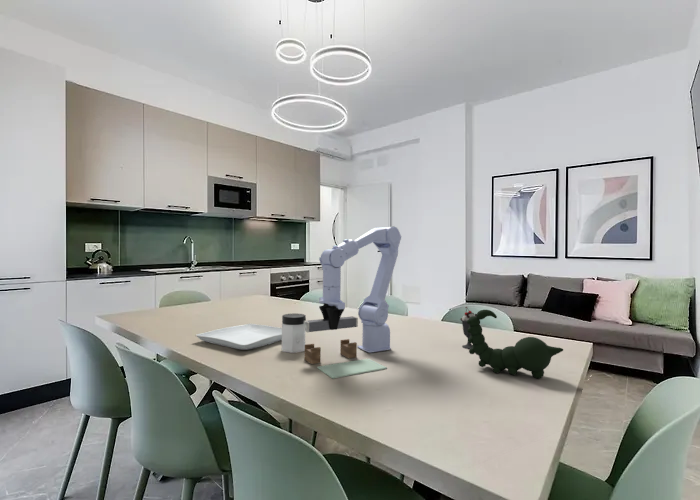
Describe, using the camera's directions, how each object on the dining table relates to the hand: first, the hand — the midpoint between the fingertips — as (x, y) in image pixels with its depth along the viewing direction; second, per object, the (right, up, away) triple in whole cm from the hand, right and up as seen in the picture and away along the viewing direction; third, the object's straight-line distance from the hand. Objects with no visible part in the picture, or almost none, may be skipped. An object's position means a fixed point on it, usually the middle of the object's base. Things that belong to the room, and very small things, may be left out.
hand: (331, 328), depth 118 cm
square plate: (-33, -10, +21) cm, 41 cm away
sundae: (+50, -10, +16) cm, 53 cm away
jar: (-14, -10, +10) cm, 19 cm away
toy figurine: (+53, -11, -12) cm, 55 cm away
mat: (+7, -10, -10) cm, 15 cm away
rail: (0, 0, 0) cm, 0 cm away
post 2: (+6, -10, +3) cm, 12 cm away
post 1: (-6, -10, -3) cm, 12 cm away
